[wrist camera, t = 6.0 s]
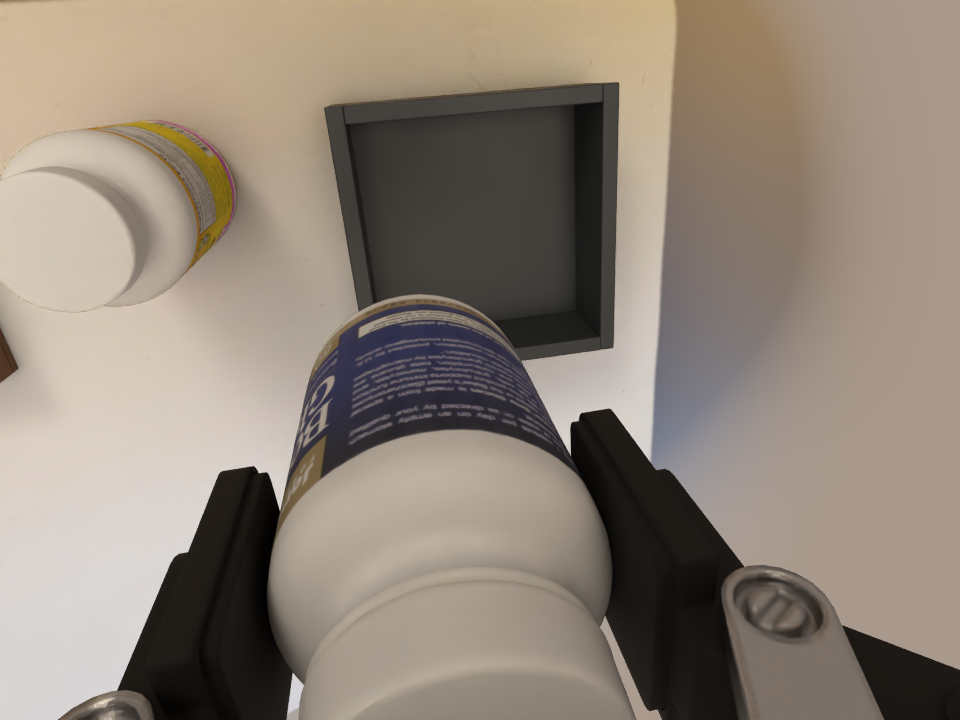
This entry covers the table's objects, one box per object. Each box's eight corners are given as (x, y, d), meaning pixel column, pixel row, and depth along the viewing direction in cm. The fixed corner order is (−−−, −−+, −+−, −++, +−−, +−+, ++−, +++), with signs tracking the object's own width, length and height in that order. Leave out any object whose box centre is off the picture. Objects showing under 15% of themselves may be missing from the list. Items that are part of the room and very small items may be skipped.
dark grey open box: (371, 347, 36) (370, 382, 32) (330, 104, 31) (323, 107, 26) (586, 319, 38) (613, 348, 34) (586, 83, 32) (619, 82, 28)
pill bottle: (294, 295, 14) (163, 655, 5) (520, 282, 15) (741, 575, 6) (322, 486, 16) (263, 959, 7) (516, 465, 17) (672, 872, 8)
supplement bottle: (135, 263, 32) (2, 360, 21) (76, 134, 29) (-117, 164, 18) (258, 235, 33) (196, 315, 21) (212, 106, 30) (111, 116, 18)
